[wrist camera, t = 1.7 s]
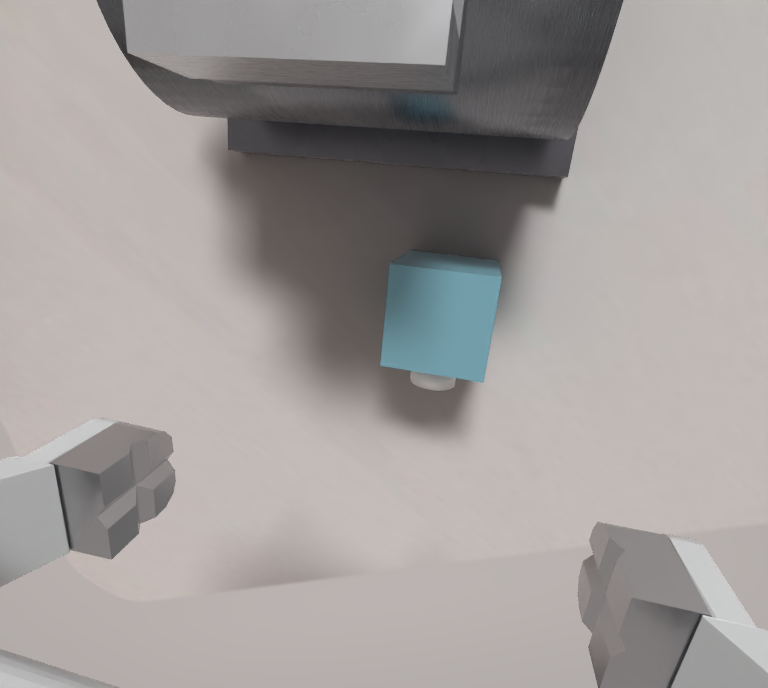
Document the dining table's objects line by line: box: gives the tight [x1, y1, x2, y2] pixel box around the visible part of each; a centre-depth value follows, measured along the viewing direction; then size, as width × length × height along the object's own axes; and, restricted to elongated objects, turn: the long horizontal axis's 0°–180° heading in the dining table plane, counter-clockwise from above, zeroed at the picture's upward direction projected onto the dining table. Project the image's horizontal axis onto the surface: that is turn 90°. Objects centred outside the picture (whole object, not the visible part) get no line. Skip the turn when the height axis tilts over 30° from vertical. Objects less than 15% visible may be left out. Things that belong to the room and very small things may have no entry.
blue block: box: [380, 250, 502, 391], centre depth 23 cm, size 5×6×6 cm
